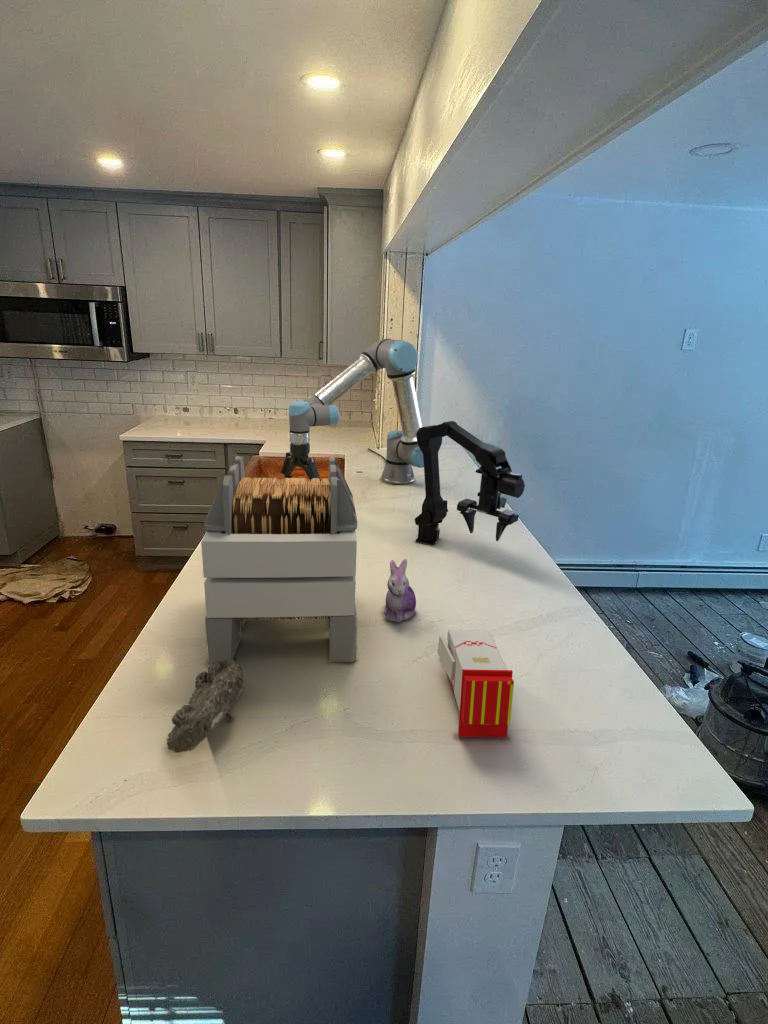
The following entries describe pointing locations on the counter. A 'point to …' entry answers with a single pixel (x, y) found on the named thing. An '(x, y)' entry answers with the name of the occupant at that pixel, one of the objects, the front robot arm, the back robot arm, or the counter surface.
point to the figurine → (399, 594)
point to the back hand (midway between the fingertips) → (300, 495)
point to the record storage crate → (280, 557)
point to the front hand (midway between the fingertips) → (484, 536)
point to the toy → (478, 682)
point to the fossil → (206, 705)
